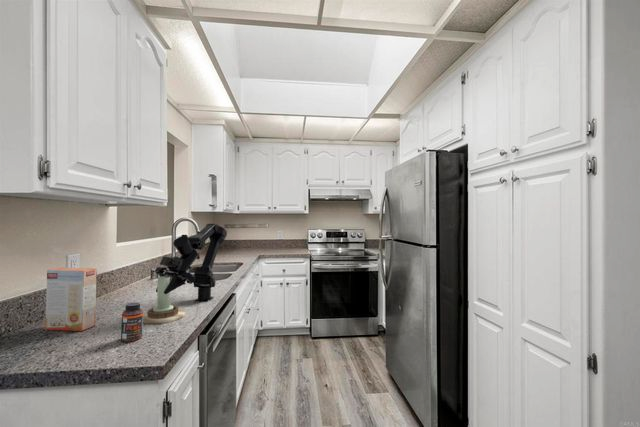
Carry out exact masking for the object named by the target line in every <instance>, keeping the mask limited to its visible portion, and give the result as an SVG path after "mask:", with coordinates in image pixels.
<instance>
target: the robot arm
mask: <svg viewBox="0 0 640 427" xmlns="http://www.w3.org/2000/svg"><path fill="white" fill-rule="evenodd" d="M227 233H228V232H227V229H226V228H224V227H222V226H220V225H218V223H207V224H206V225H205V227H203V228H202V229H201V230H200V231H199V232H197V233H196V234H193V235H192V234H191V235H190V236H188V235H187V234H181V236H179V237H177V238H175V239H174V240H173V246H174V248H175V249H176V250H177V252H178V253H179V254H180V256H173V257H170V256H162V258H161V260H160V263H159V265H161V266H157V267H156V268H155V269H154V272H155V273H156V274H157V275H158V277H161V276H171V282H170V283H169V285H168V286H167V288H166V289H165V291H164V294H167V293H169V292H170V293H171V292H173V291H174V290H176V289H178V288H180V287H182V286H183V285H184V286H185V285H186V284H190V285H192V284H193V287H194V288H197V289H198V290H197V298H195V299H194V301H197V302H209V301H211V300H212V298H213V299H214V296H212V288H216V282H217V281H216V280H215V277H214V272H213V266H214V263H215V260H216V257H217V254H218V251H219V248H220V245H221V244H222V243H223V242H224V241H225V240H226V237H227ZM208 239H209V244H208V247H207V250H206V252H205V255H204V258H203V260H202V264H201V265H200V266H196V268H195V272H194V273H193V274H192V273H191V272H190V271H189V270H191V269H192V264H193V263H194V262H195V261H196V260H200V259H201V256H200V253H199V252H197V251H202V250H203V249H204V247H205V246H206V241H207V240H208ZM165 266H166V267H165ZM157 287H158V285H157ZM157 287H156V289H155V292H156V293H157ZM210 299H211V300H210ZM208 300H209V301H208Z"/></svg>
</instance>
